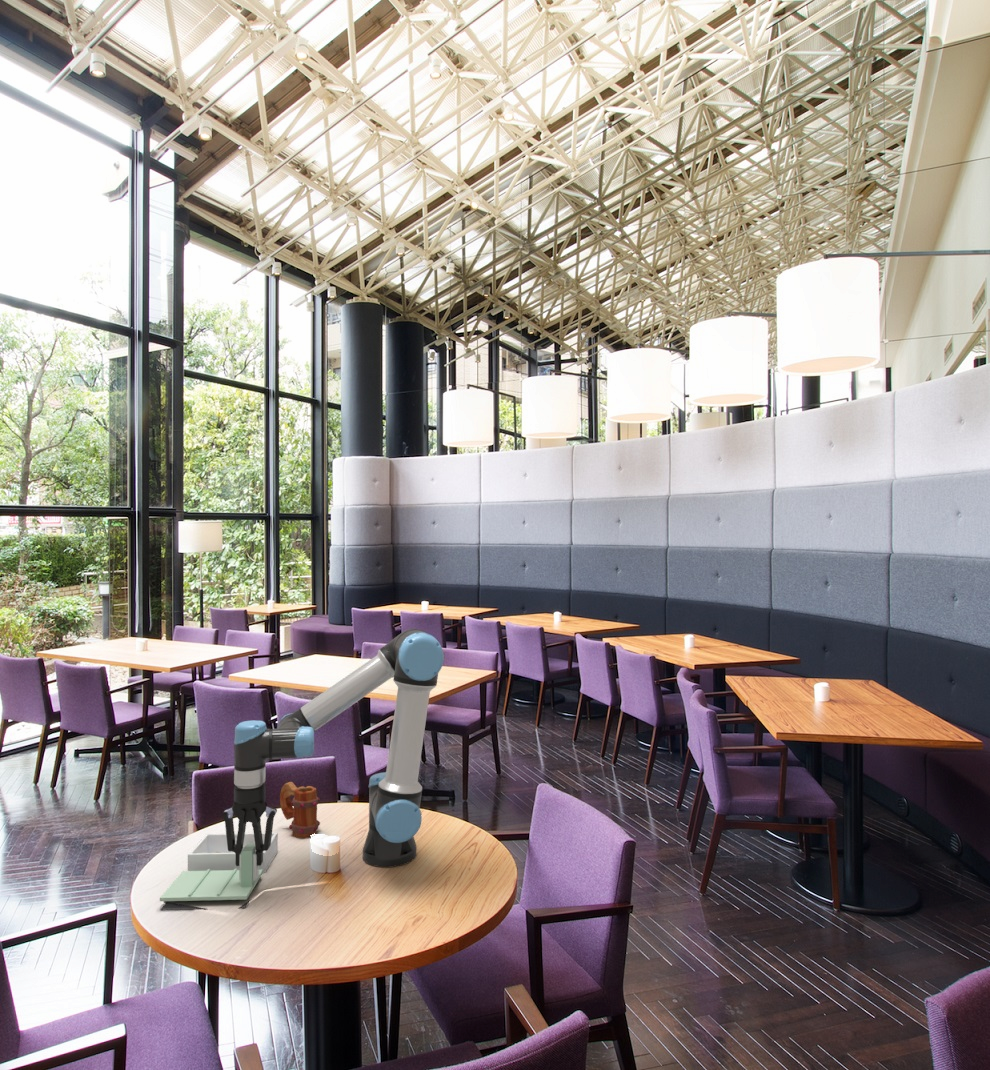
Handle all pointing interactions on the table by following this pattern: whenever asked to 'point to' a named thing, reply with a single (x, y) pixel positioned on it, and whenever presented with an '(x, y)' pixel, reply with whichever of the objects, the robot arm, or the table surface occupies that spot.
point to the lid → (215, 882)
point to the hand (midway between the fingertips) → (249, 877)
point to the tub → (225, 853)
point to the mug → (300, 809)
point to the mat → (186, 907)
